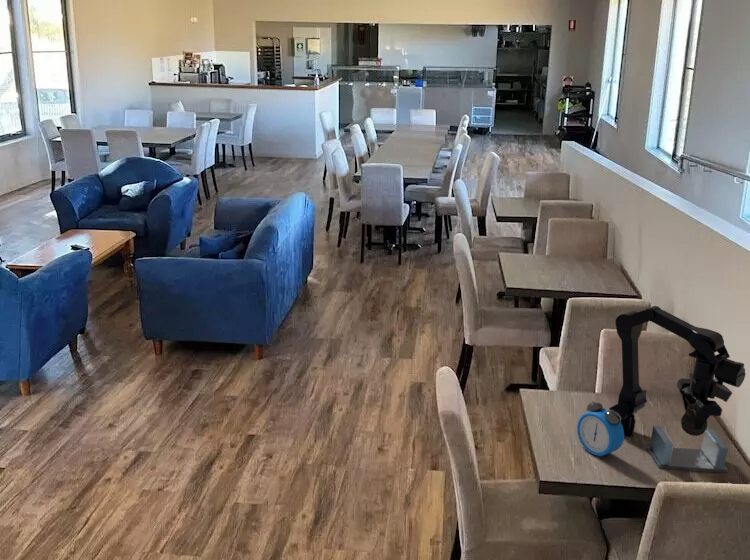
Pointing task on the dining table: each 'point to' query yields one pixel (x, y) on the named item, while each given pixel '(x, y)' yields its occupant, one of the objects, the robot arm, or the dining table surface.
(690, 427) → the mate gourd
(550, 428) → the dining table surface
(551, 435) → the dining table surface
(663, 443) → the free jaw
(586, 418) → the alarm clock
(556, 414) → the dining table surface
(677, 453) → the vise bed
